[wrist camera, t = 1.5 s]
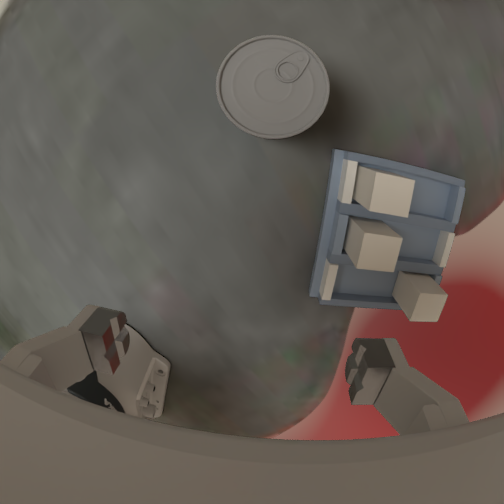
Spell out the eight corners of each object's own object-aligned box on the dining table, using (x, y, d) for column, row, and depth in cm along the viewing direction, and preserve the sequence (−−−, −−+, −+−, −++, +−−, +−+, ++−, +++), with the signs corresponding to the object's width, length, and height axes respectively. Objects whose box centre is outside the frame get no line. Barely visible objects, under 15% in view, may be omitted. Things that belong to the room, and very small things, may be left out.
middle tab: (374, 249, 32) (393, 272, 27) (342, 245, 32) (356, 268, 27) (381, 220, 31) (402, 238, 25) (348, 215, 31) (364, 232, 25)
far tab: (417, 296, 34) (437, 321, 29) (391, 294, 34) (409, 321, 29) (425, 271, 33) (448, 294, 27) (399, 269, 33) (420, 293, 27)
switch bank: (425, 300, 36) (434, 312, 33) (308, 291, 36) (311, 305, 33) (458, 178, 30) (472, 183, 27) (332, 148, 30) (339, 149, 27)
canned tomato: (273, 154, 30) (277, 162, 20) (217, 106, 29) (192, 92, 18) (324, 101, 28) (352, 85, 18) (267, 54, 26) (267, 15, 16)
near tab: (384, 203, 30) (407, 217, 25) (351, 197, 30) (369, 211, 25) (390, 171, 29) (415, 180, 23) (356, 164, 29) (376, 171, 23)
